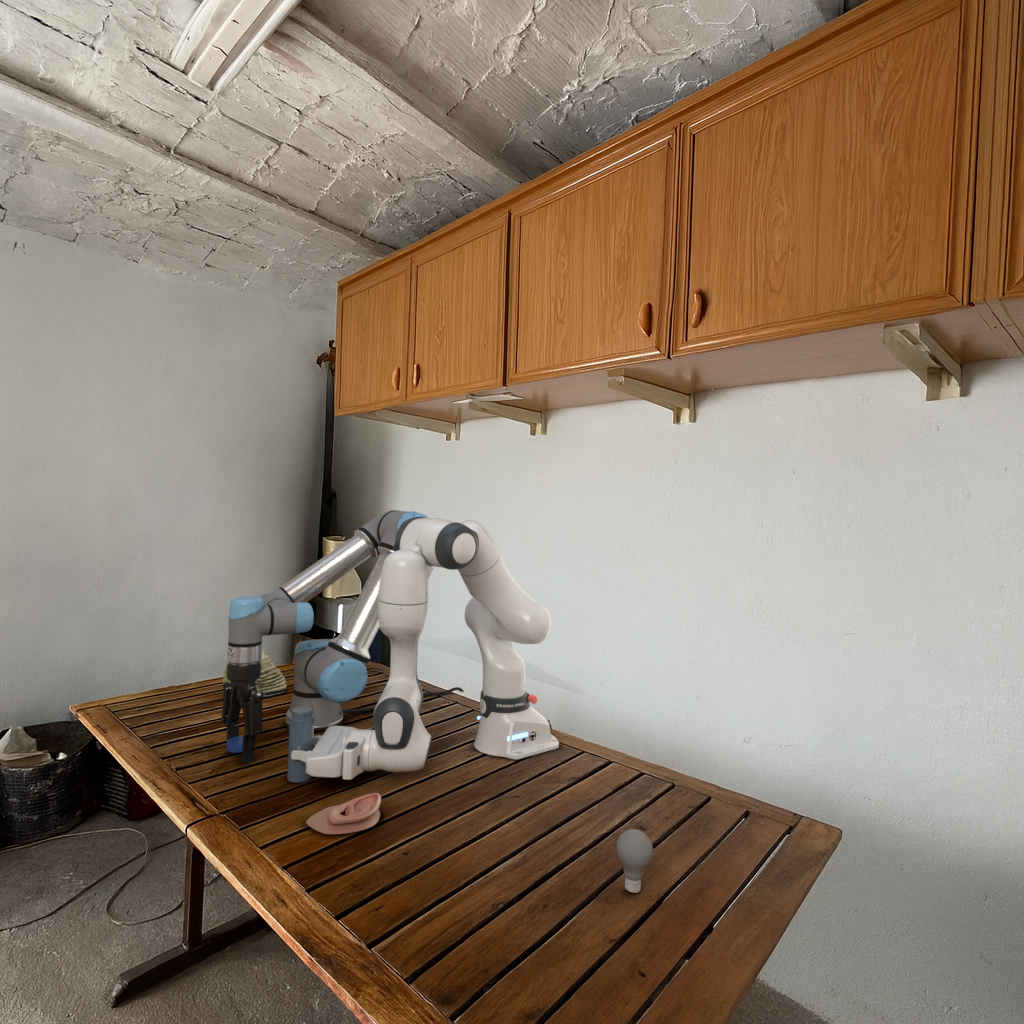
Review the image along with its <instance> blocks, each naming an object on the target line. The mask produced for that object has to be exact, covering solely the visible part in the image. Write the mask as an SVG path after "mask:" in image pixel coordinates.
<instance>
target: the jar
mask: <svg viewBox="0 0 1024 1024" xmlns="http://www.w3.org/2000/svg"><path fill="white" fill-rule="evenodd" d="M312 711H313V709H312V708H311V707H307V706H302V707H296V708H294V709H292V715H290V717H289V728H288V741H287V742H288V745H287V746H288V747H287V771H286V772H287V773H286V779H287V781H288V782H290V783H296V784H297V783H298V784H299V783H305V782H308V781H310V780H311V779H312V778H313V776H310V775H308V774H306V762H303V761H301V760H297V759H292V758H291V753H292V751H293V750H294V749H301V750H302V751H306V752H307V751H312V750H313V749H314V746H313V743H314V736H315V732H314V717H315V715H314V714H313V713H312Z"/></svg>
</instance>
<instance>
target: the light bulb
mask: <svg viewBox="0 0 1024 1024" xmlns="http://www.w3.org/2000/svg"><path fill="white" fill-rule="evenodd" d="M615 849H616V854H617V857H618V859H619V861H620V863H621V865H622V867H623V873H624V874H623V875H624V876H625V878H624V888H625V890H627V891H628V892H630V893H634V894H635V893H639V892H640V891H641V889H642V887H641V886H642V879H643V877H644V875H645V871H646V868H647V867H648V866H649V864H650V863H651V861H652V859H653V855H654V847H653V843H652V841H651V838H649V836H648V835H647V834H646V833H645V832H643V831H642V830H641V829H636V828H629V829H627V830H625V831H623V832H622V833H621V834H620V835H619V837H618V839H617V841H616V847H615Z"/></svg>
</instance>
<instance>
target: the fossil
mask: <svg viewBox="0 0 1024 1024" xmlns="http://www.w3.org/2000/svg"><path fill="white" fill-rule="evenodd" d="M259 662H260V663H261V675H260V677H259V678H258V679H257V680H256V690H257V691H258V692H263V693H264V697H271V696H275V695H281V694H284V693H285V691H286V689H287V687H288V686H287V680H286V678H285V676H284V674H283V673H282V672H281V669H279V668H278V667H277V665H276V663H275V662H274V660H273V659H272V658H271V657H270V656H269V655H268V654H267V653H266V652H265V650H264V649H263V648H262V657H261V660H260V661H259ZM228 663H229V662H228V661H227V663H226V666H225V668H224V671H223V675H222V676H223V677H222V684H223V683H225V682H230V681H229V680H228V679H227V677H226V676H227V664H228ZM264 697H263V698H264Z"/></svg>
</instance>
